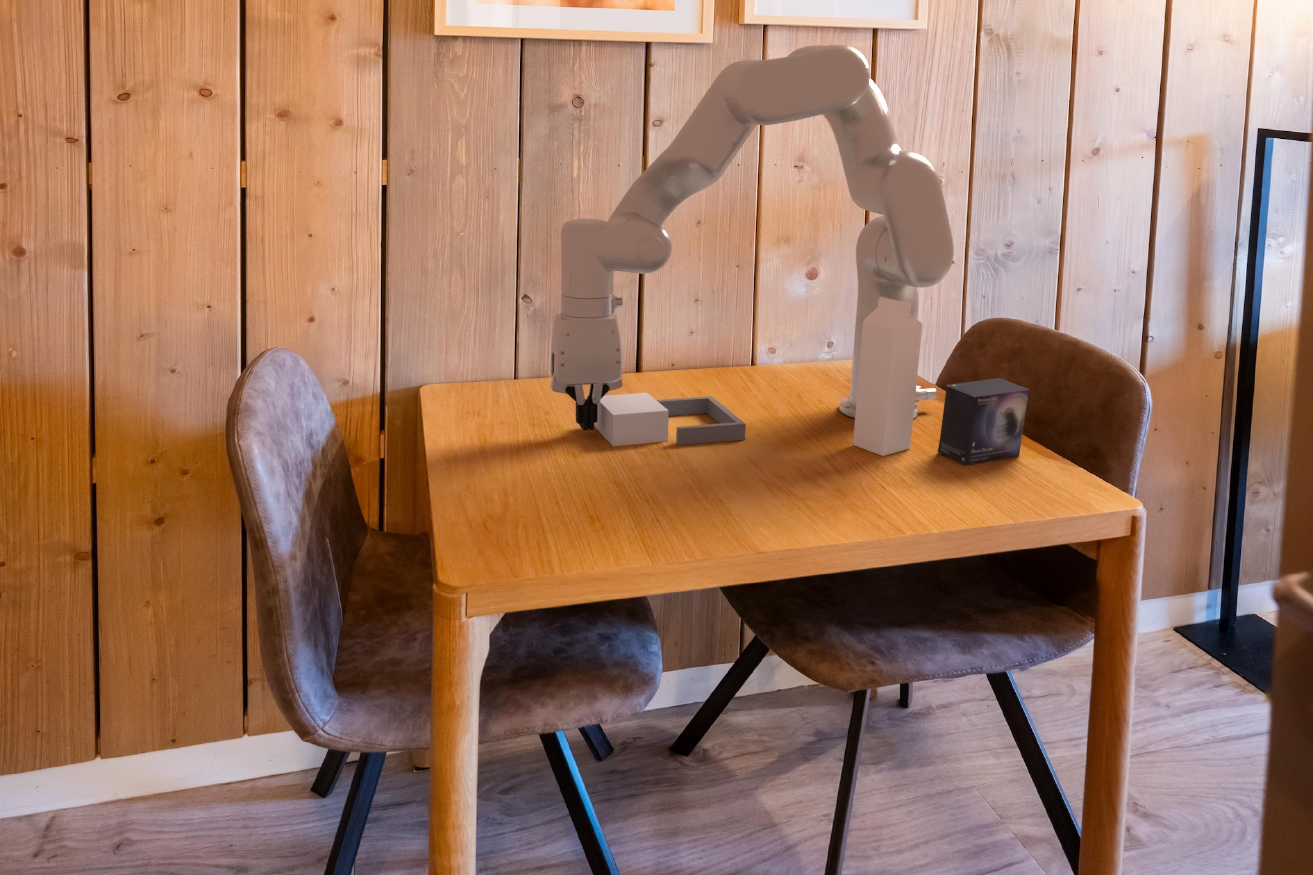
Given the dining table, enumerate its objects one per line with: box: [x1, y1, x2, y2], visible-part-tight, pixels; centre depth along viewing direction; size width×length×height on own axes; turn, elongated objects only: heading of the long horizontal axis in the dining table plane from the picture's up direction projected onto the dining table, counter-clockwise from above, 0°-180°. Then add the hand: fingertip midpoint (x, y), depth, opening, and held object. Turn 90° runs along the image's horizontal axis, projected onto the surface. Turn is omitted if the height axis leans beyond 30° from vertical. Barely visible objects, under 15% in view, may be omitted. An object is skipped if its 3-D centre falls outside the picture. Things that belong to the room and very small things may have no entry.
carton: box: [594, 392, 669, 447], centre depth 162 cm, size 8×10×5 cm
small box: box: [937, 377, 1030, 466], centre depth 154 cm, size 11×6×10 cm, turn 117°
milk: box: [852, 297, 923, 457], centre depth 155 cm, size 6×6×22 cm
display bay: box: [655, 395, 747, 446], centre depth 165 cm, size 10×15×2 cm
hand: (586, 427), depth 160 cm, fingers closed
